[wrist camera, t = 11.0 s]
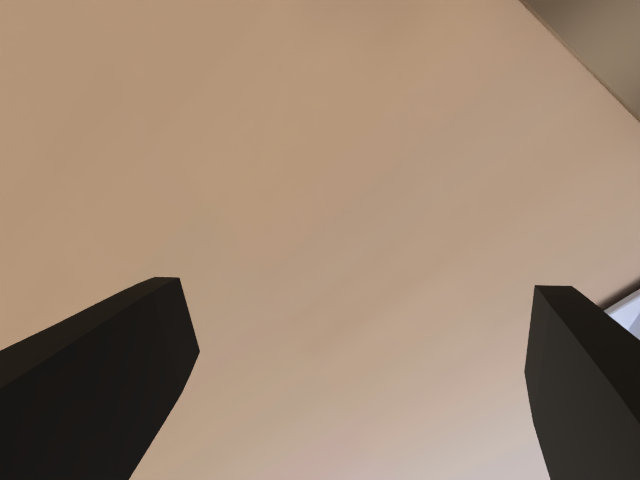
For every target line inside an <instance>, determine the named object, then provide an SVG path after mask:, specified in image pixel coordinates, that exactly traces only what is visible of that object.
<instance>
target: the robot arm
mask: <svg viewBox="0 0 640 480" xmlns="http://www.w3.org/2000/svg"><path fill="white" fill-rule="evenodd" d="M199 352H200V350H199V346H198V343H197V339H196V336H195V332H194V329H193V325H192V321H191V318H190V314H189V311H188V307H187V303H186V300H185V296H184V293H183V289H182V285H181V282H180V278H175V277H154V278H151V279H148V280H146V281H143V282H141V283H138V284H136V285H134V286H132V287H129V288H127V289H125V290H123V291H121V292H119V293H117V294H115V295H113V296H111V297H109V298H107V299H105V300H103V301H101V302H99V303H97V304H95V305H93V306H91V307H89V308H87V309H85V310H83V311H81V312H79V313H77V314H75V315H73V316H71V317H69V318H67V319H65V320H63V321H61V322H59V323H57V324H55V325H53V326H51V327H49V328H47V329H45V330H43V331H41V332H39V333H36V334H34V335H32V336H30V337H28V338H26V339H24V340H22V341H20V342H18V343H15V344H13V345H11V346H9V347H7V348H5V349H3V350H1V351H0V480H129V478H130V477H131V475H132V473H133V472H134V470H135V469H136V467H137V465H138V464H139V462H140V461H141V459H142V457H143V456H144V454H145V452H146V451H147V449H148V448H149V446H150V444H151V443H152V441H153V440H154V438H155V436H156V435H157V433H158V432H159V430H160V428H161V427H162V425H163V423H164V422H165V420H166V418H167V417H168V415H169V413H170V412H171V410H172V409H173V407H174V405H175V404H176V402H177V400H178V398H179V397H180V395H181V393H182V391H183V389H184V387H185V385H186V383H187V381H188V379H189V376H190V374H191V372H192V369H193V367H194V365H195V362H196V360H197V357H198V355H199ZM525 378H526V384H527V390H528V396H529V402H530V407H531V413H532V418H533V423H534V427H535V430H536V434H537V437H538V440H539V444H540V447H541V450H542V453H543V457H544V460H545V463H546V467H547V470H548V473H549V476H550V479H551V480H640V289H638V290H637V291H635V292H634V293H632V294H630V295H629V296H627V297H625V298H624V299H622V300H621V301H619V302H617V303H616V304H614V305H612V306H611V307H609V308H608V309H606V310H604V311H603V310H602V309H600V308H599V307H598V306H597V305H596V304H594V303H593V302H592V301H591V300H589V299H588V298H587V297H586V296H584V295H583V294H582V293H580V292H579V291H578V290H576V289H575V288H574V287H572V286H543V285H535V288H534V296H533V305H532V313H531V322H530V330H529V338H528V347H527V355H526V364H525Z"/></svg>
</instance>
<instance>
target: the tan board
mask: <svg viewBox="0 0 640 480" xmlns="http://www.w3.org/2000/svg"><path fill="white" fill-rule="evenodd" d="M519 1H520V2H521V3H522V4H523V5H524V6H525V7H526V8H527V9H528V10H529V11H530V12H531V13H532V14H533V15H534V16H535V17H536V18H537V19H538V20H539V21H540V22H541V23H542V24H543V25H544V26H545V27H546V28H547V29H548V30H549V31H550V32H551V33H552V34H553V35H554V36H555V37H556V38H557V39H558V40H559V41H560V42H561V43H562V44H563V45H564V46H565V47H566V48H567V49H568V51H569V52H570V53H571V54H572V55H573V56H574V57H575V58H576V59H577V60H578V61H579V62H580V63H581V64H582V65H583V66H584V67H585V68H586V69H587V70H588V71H589V72H590V73H591V74H592V75H593V76H594V77H595V78H596V79H597V80H598V81H599V82H600V83H601V84H602V85H603V86H604V87H605V88H606V89H607V90H608V91H609V92H610V93H611V94H612V95H613V96H614V97H615V98H616V99H617V100H618V101H619V102H620V103H621V104H622V105H623V106H624V107H625V108H626V109H627V110H628V111H629V112H630V113H631V114H632V115H633V116H634V117H635V118H636V119H637V120H638V121H639V122H640V0H519Z"/></svg>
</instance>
